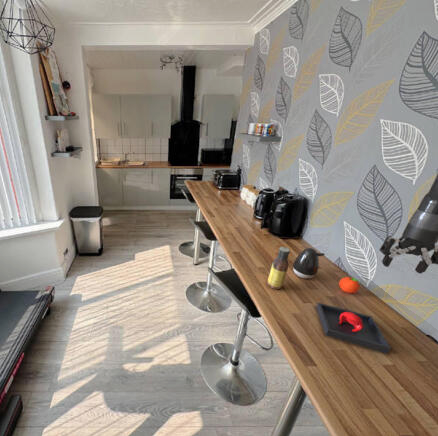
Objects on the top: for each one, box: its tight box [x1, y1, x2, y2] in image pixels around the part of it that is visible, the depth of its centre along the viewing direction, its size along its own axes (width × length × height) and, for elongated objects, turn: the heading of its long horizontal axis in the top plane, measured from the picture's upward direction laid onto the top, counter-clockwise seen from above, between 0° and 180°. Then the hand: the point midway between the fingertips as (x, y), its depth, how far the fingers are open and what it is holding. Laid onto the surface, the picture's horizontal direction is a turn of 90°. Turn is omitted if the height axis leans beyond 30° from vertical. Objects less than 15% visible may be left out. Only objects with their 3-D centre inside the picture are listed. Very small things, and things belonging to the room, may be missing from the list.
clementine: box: [338, 276, 362, 294], centre depth 105 cm, size 8×7×7 cm
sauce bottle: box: [266, 246, 291, 290], centre depth 104 cm, size 7×6×20 cm
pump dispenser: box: [292, 247, 326, 280], centre depth 113 cm, size 10×10×15 cm
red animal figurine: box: [339, 312, 363, 332], centre depth 86 cm, size 8×6×6 cm
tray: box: [315, 302, 391, 354], centre depth 87 cm, size 18×15×3 cm
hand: (401, 268), depth 78 cm, fingers open, 8 cm apart
